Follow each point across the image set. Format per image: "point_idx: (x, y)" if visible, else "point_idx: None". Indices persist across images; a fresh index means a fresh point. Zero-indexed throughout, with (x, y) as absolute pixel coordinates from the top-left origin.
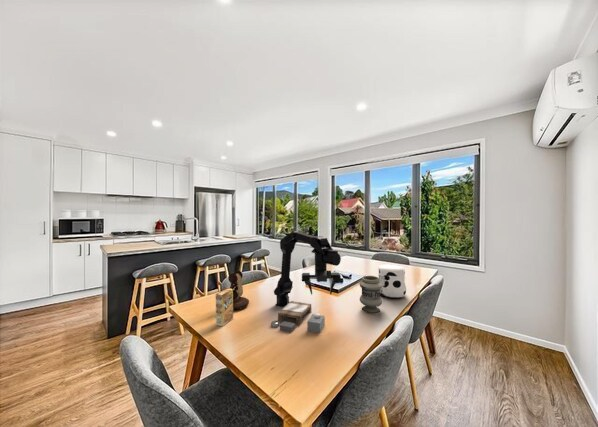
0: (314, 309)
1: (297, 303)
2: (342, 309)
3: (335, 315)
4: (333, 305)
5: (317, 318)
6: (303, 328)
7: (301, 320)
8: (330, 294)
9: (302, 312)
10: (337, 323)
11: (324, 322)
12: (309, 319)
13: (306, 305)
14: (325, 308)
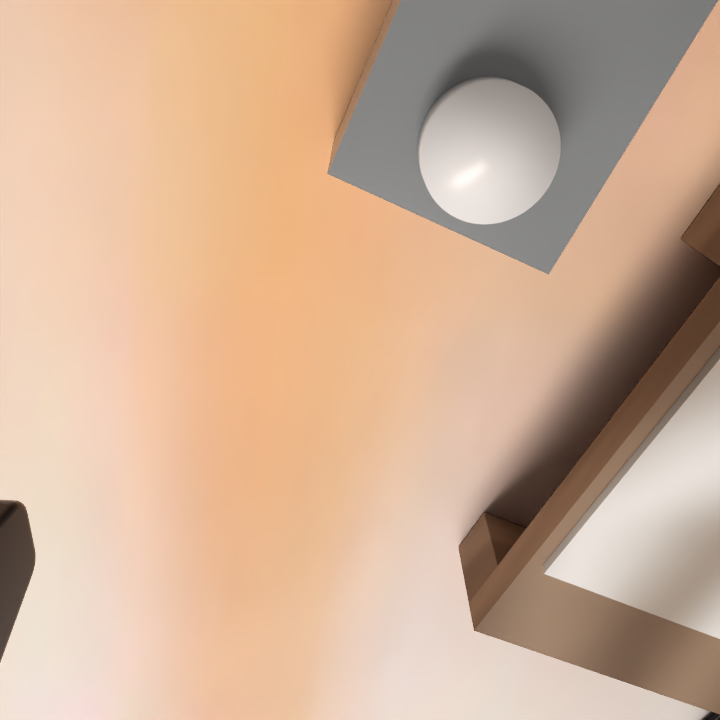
0: (406, 590)
1: (681, 656)
2: None
3: (133, 421)
4: (143, 665)
5: (498, 61)
6: (714, 40)
7: (715, 233)
8: (15, 502)
9: (713, 360)
10: (117, 174)
11: (335, 141)
12: (683, 25)
13: (562, 592)
14: (256, 604)
